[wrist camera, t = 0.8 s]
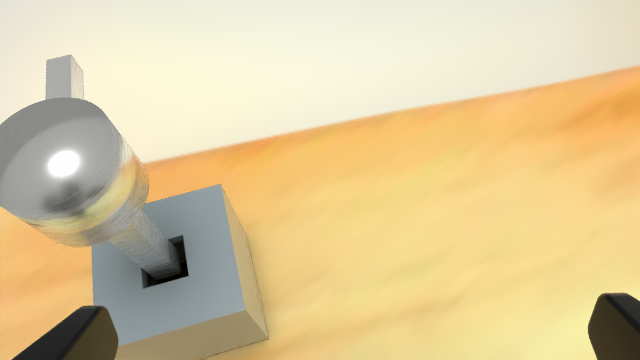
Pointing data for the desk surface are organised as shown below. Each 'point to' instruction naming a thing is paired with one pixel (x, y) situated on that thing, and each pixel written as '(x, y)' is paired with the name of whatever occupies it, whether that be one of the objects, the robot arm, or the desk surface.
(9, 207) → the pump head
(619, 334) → the robot arm
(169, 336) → the gray square socket cube
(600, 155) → the desk surface
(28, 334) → the desk surface
